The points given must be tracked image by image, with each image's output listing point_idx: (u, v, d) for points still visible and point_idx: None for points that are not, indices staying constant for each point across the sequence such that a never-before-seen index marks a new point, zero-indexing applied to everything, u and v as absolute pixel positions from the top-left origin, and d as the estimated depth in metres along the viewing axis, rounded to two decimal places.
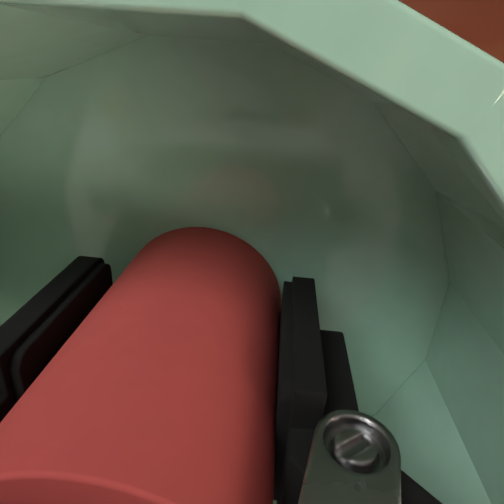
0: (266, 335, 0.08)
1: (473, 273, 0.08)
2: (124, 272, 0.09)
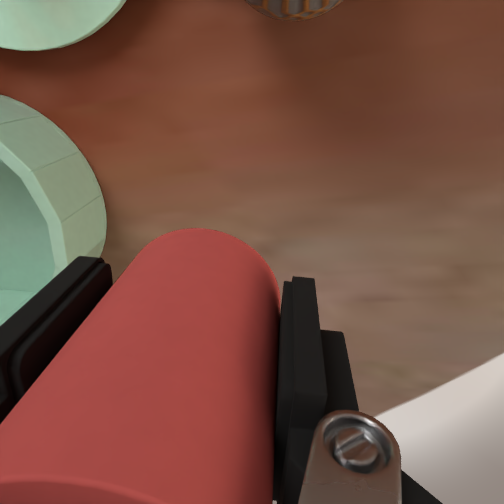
0: (265, 337, 0.08)
1: None
2: (124, 274, 0.09)
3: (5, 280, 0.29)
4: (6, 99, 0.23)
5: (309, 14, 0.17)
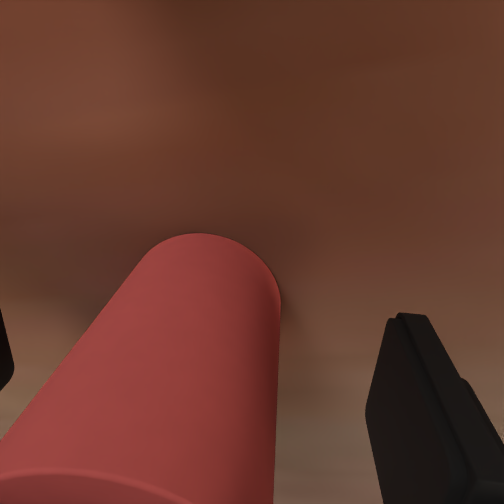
0: (266, 339, 0.08)
1: None
2: (129, 277, 0.09)
3: None
4: None
5: None
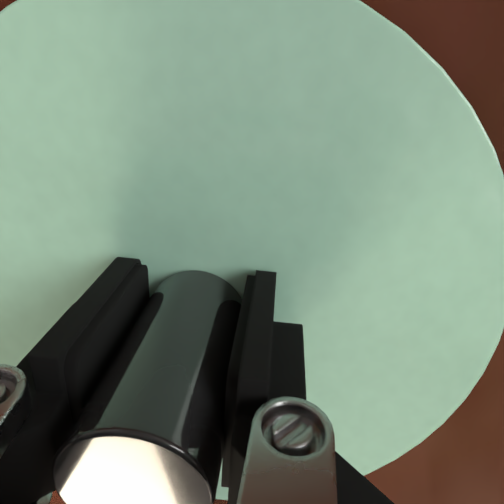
0: None
1: None
2: None
3: None
4: None
5: None
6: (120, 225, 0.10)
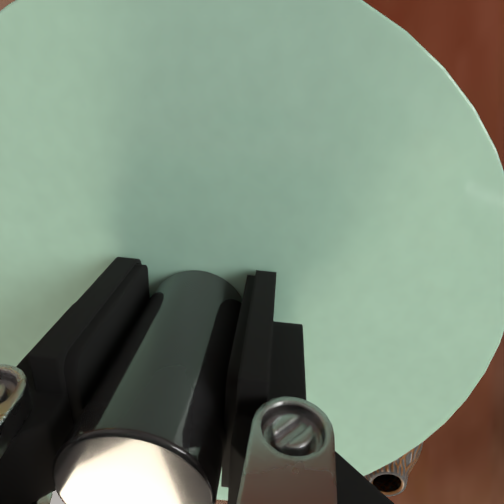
0: None
1: None
2: None
3: None
4: None
5: None
6: (120, 225, 0.10)
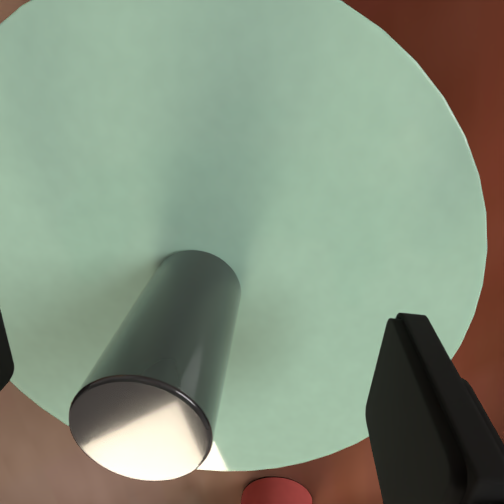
0: None
1: None
2: None
3: None
4: None
5: None
6: (124, 208, 0.11)
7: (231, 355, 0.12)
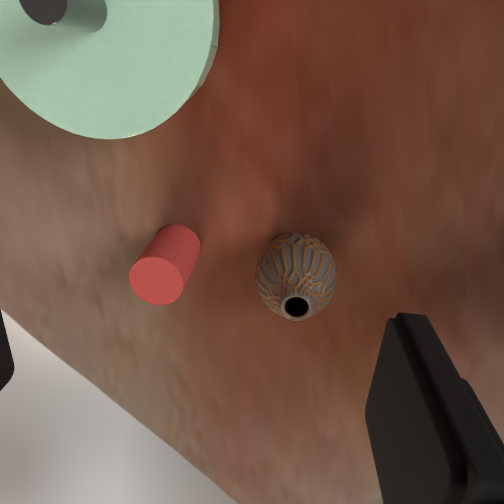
0: None
1: None
2: (190, 240, 0.36)
3: None
4: (212, 59, 0.30)
5: (256, 284, 0.34)
6: None
7: (107, 51, 0.26)
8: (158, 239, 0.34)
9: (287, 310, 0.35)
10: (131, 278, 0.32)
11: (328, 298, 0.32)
